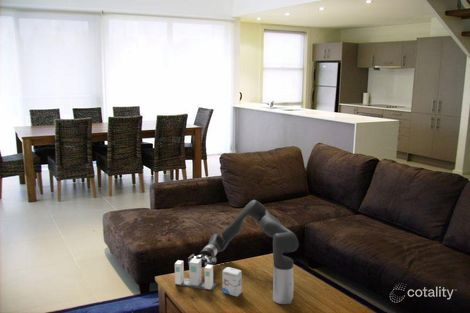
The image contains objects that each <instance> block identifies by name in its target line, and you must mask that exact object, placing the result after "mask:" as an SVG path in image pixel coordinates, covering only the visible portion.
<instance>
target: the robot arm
mask: <svg viewBox="0 0 470 313" xmlns="http://www.w3.org/2000/svg"><path fill="white" fill-rule="evenodd" d="M246 217H251V219H253V220H255V221H256V222H258V223H259V225H260V228H261V230H262V231H263V232H264V234H265V235H266V236H269V237H271V238H272V257H273V258H272V259H273V274H272V276H273V277H272V279H273V280H272V284H273V285H272V301H273V302H274V303H276V304H280V305H291V304H292V302H293V299H294V282H295V280H294V260H293V259H292V258H291V257H289V256H286V255H283V254H285V253H286V254H287V253H293V252H295V251H297V249H298V248H299V244H300V243H299V240H298V237H297V234H295V233H294V232H293V231H292V230H290V229H289V228H287V227H286V226H284V225H283V224H282V222H280V220H279V219H278V218H276V217H275V216H274V215H273V214H271V212H269V210H268V208H267V207H266V206H265V205H263V204H262V203H261V202H259V201H258V200H256V199H253V200H250V201H249V202H248V203H247V204H246V205H245V206H244V208H242V209H241V211H240V212H239V214H238V215H237V216H236V217H235V218H234V219H233V221H231V223H229V225H227V226H226V227H225V228H224V229H223V230H222V231H221V235H220V234H219V233H213V234H212V235H211V236H210V238H209V241H208V244H206V246H204V248H203V249H201V251H200V252H199V253H198V254H197V255H195V253H192V254H191V255H190V256H189V257H187V264H188V266H189V262H190V261H191V260H192V259H193V258H195V259H201V264H204V265H203V269H204V270H205V267H206V266H207V264H208V265H213V267H214V266H215V265H216V263H217V257H216V255H217V254H218V253H219V252H223V251H224V250H225V249H226V248H227V247H228V245H229V243H230V242H231V241H232V240H233V239H234V238H235V237H236V236H238V234H239V233H240V232H241V230H242V226H243V222H244V220H245V218H246Z"/></svg>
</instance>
